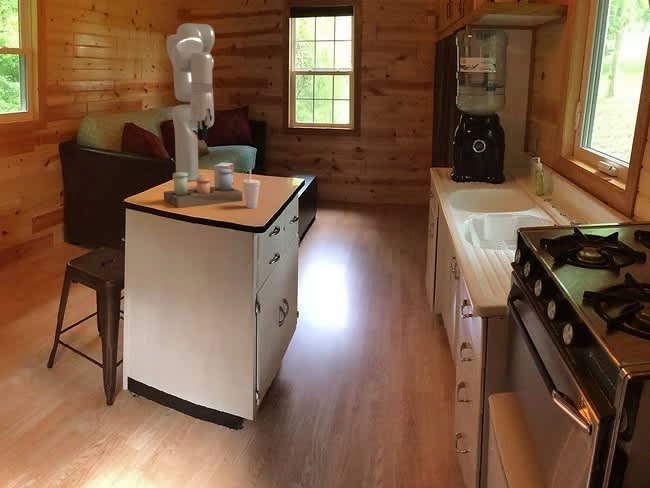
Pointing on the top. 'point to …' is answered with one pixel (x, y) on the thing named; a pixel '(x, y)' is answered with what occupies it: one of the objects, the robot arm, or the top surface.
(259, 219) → the top surface
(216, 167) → the grey arched frame
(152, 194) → the top surface
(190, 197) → the button board
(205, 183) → the pink lidded jar
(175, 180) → the sage button
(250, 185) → the smoothie
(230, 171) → the blue-grey jar
